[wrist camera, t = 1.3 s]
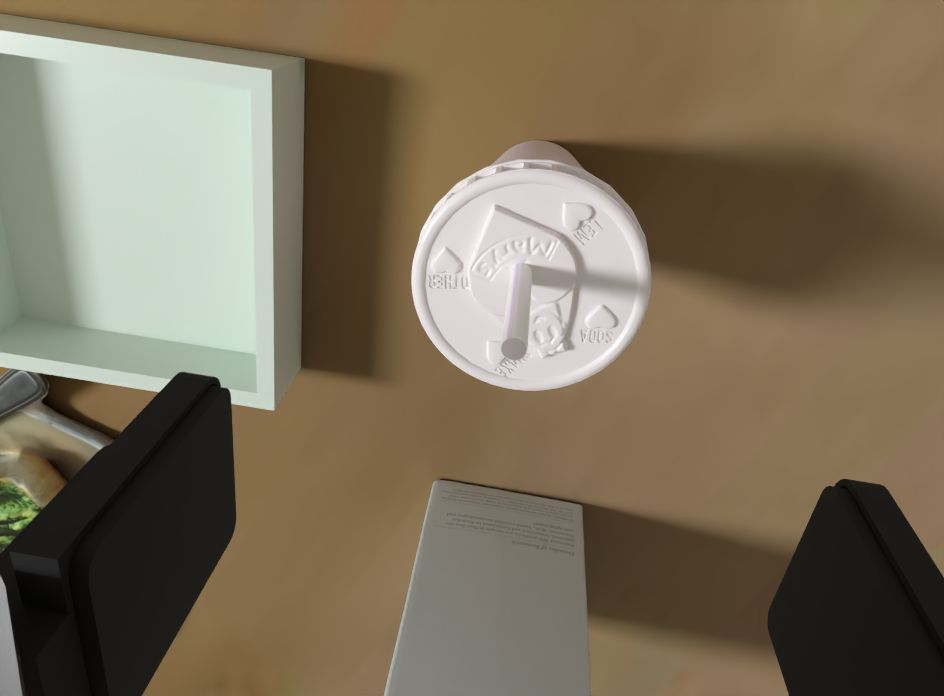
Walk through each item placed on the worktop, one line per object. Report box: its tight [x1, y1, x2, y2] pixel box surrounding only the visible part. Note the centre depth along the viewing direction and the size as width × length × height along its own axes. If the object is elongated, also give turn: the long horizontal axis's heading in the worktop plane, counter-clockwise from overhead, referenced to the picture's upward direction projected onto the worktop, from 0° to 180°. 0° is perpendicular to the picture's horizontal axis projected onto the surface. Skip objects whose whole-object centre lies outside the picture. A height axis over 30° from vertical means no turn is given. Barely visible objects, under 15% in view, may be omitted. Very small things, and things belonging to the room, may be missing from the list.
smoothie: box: [412, 140, 651, 391], centre depth 21 cm, size 6×6×14 cm
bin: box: [0, 14, 305, 410], centre depth 28 cm, size 13×13×4 cm
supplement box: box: [384, 480, 591, 696], centre depth 30 cm, size 7×7×13 cm
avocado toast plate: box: [0, 368, 114, 553], centre depth 36 cm, size 19×18×5 cm
